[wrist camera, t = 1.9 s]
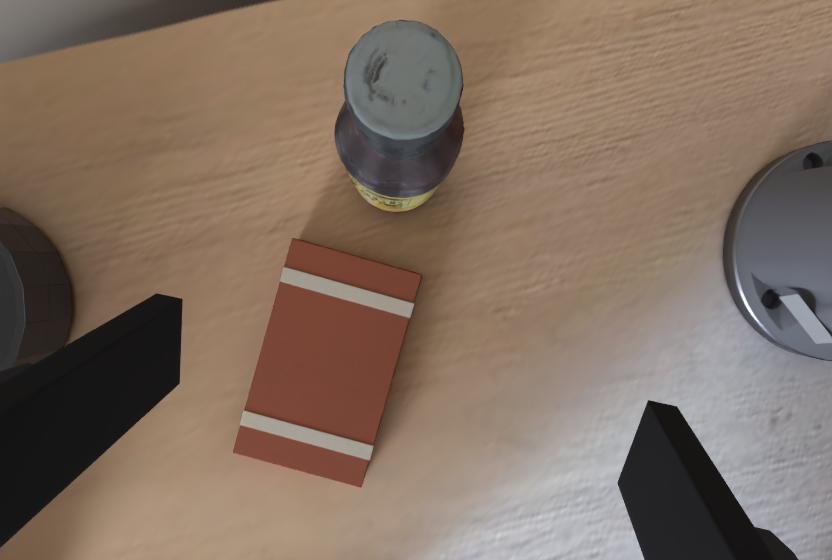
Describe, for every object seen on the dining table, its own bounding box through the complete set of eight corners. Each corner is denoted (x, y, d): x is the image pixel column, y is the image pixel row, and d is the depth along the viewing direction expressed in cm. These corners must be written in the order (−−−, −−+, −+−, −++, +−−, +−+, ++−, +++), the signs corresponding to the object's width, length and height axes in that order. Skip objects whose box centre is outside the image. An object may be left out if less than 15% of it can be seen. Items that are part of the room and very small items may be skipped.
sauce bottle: (334, 162, 37) (255, 46, 17) (404, 106, 37) (404, -72, 17) (392, 235, 38) (379, 204, 18) (462, 181, 38) (527, 88, 18)
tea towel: (421, 274, 38) (422, 275, 36) (364, 476, 38) (361, 488, 36) (297, 239, 37) (291, 237, 35) (241, 442, 38) (231, 453, 36)
